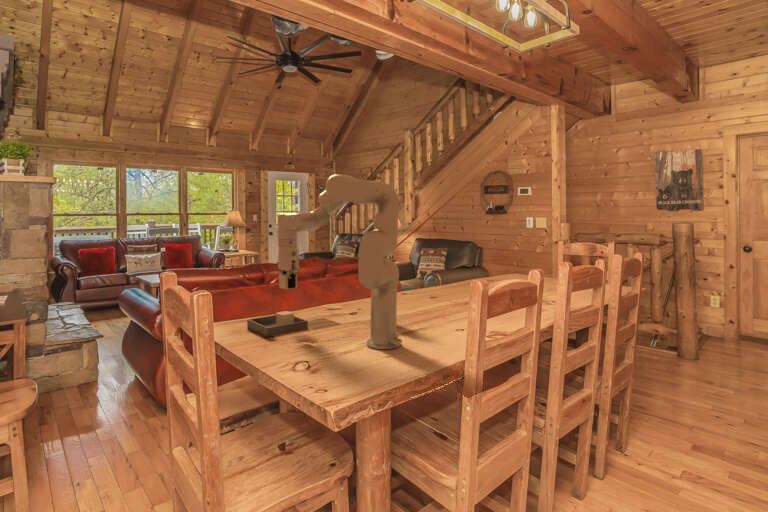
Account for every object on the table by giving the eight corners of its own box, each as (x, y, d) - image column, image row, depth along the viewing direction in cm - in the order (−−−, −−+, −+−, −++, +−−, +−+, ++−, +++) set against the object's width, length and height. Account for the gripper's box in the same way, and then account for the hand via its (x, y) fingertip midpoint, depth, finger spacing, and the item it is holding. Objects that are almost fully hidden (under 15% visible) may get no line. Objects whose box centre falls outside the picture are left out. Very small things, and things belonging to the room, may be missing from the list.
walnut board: (342, 326, 191) (342, 324, 191) (313, 332, 182) (313, 329, 182) (323, 320, 201) (323, 317, 201) (296, 325, 192) (296, 323, 192)
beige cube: (297, 287, 185) (297, 274, 184) (285, 289, 181) (285, 275, 181) (291, 286, 189) (290, 273, 188) (279, 287, 185) (278, 274, 185)
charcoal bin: (307, 330, 184) (307, 320, 184) (267, 338, 173) (267, 328, 172) (286, 321, 198) (286, 313, 198) (247, 328, 186) (247, 319, 186)
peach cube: (294, 326, 187) (294, 313, 187) (282, 328, 184) (282, 315, 183) (287, 323, 191) (287, 310, 191) (276, 325, 188) (275, 312, 187)
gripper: (306, 244, 179) (306, 289, 181) (286, 241, 192) (286, 283, 194) (289, 245, 174) (289, 291, 176) (269, 242, 187) (270, 285, 189)
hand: (288, 286), depth 185 cm, fingers closed on beige cube, 5 cm apart
